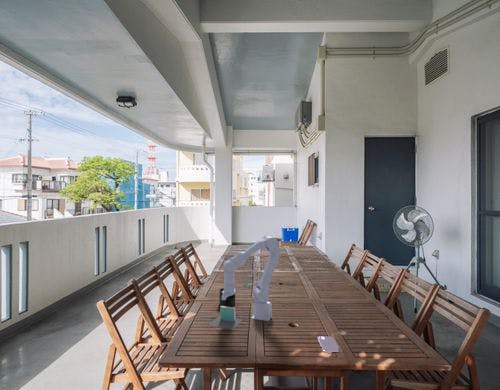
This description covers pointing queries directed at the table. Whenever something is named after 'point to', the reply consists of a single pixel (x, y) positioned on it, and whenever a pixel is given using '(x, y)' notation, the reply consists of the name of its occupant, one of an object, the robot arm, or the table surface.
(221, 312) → the tile
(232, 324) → the mat
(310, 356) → the table surface
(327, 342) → the mobile phone
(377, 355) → the table surface
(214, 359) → the table surface
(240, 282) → the table surface
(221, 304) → the mug
